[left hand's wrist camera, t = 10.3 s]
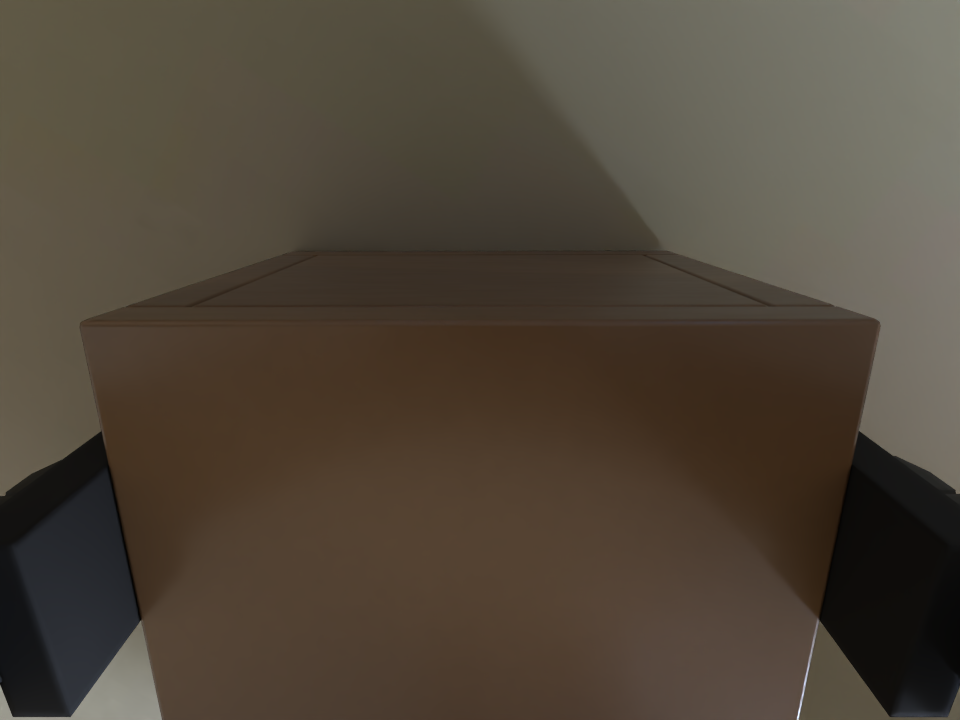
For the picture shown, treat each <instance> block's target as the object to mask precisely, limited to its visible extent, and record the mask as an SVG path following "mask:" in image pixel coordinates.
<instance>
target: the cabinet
mask: <svg viewBox="0 0 960 720" xmlns="http://www.w3.org/2000/svg"><path fill="white" fill-rule="evenodd" d="M80 331H81V336H82V340H83V345H84V350H85V355H86V359H87V364H88V369H89V374H90V378H91V383H92V388H93V393H94V397H95V402H96V407H97V412H98V416H99V421H100V426H101V431H102V435H103V440H104V445H105V450H106V455H107V459H108V464H109V469H110V474H111V478H112V483H113V488H114V493H115V497H116V502H117V507H118V512H119V516H120V521H121V526H122V531H123V535H124V540H125V545H126V550H127V555H128V559H129V564H130V569H131V574H132V578H133V583H134V588H135V593H136V597H137V602H138V607H139V612H140V616H141V621H142V626H143V631H144V635H145V640H146V645H147V650H148V654H149V659H150V664H151V669H152V674H153V678H154V683H155V688H156V693H157V697H158V702H159V707H160V712H161V716H162V720H799V716H800V711H801V707H802V702H803V697H804V692H805V687H806V683H807V678H808V673H809V668H810V663H811V658H812V654H813V649H814V644H815V639H816V634H817V630H818V625H819V620H820V615H821V610H822V605H823V601H824V596H825V591H826V586H827V581H828V577H829V572H830V567H831V562H832V557H833V553H834V548H835V543H836V538H837V533H838V528H839V524H840V519H841V514H842V509H843V504H844V500H845V495H846V490H847V485H848V480H849V475H850V471H851V466H852V461H853V456H854V451H855V447H856V442H857V437H858V432H859V427H860V422H861V418H862V413H863V408H864V403H865V398H866V394H867V389H868V384H869V379H870V374H871V369H872V365H873V360H874V355H875V350H876V345H877V341H878V336H879V331H880V322H879V321H878V320H876V319H874V318H871V317H868V316H865V315H862V314H858V313H855V312H852V311H849V310H846V309H843V308H840V307H835V306H834V305H831V304H828V303H825V302H822V301H819V300H816V299H813V298H810V297H807V296H804V295H801V294H798V293H795V292H792V291H789V290H786V289H782V288H779V287H776V286H773V285H770V284H767V283H764V282H761V281H758V280H755V279H752V278H749V277H746V276H743V275H740V274H737V273H733V272H730V271H727V270H724V269H721V268H718V267H715V266H712V265H709V264H706V263H703V262H700V261H697V260H694V259H691V258H688V257H684V256H681V255H678V254H675V253H672V252H669V251H292V252H289V253H286V254H283V255H280V256H277V257H274V258H271V259H268V260H265V261H262V262H259V263H256V264H253V265H250V266H247V267H244V268H241V269H238V270H235V271H232V272H229V273H226V274H223V275H220V276H217V277H214V278H211V279H207V280H204V281H201V282H198V283H195V284H192V285H189V286H186V287H183V288H180V289H177V290H174V291H171V292H168V293H165V294H162V295H159V296H156V297H153V298H150V299H147V300H144V301H141V302H138V303H135V304H132V305H129V306H127V307H123V308H120V309H117V310H114V311H111V312H107V313H104V314H101V315H98V316H95V317H92V318H89V319H86V320H84V321H82V322H81V323H80Z"/></svg>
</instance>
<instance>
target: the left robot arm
mask: <svg viewBox="0 0 960 720" xmlns="http://www.w3.org/2000/svg"><path fill="white" fill-rule="evenodd" d="M955 491H956V490H955V489H953V488H952V487H950V486H949V485H947V484H946V483H945V482H943V481H942V480H940V479H939V478H938V477H936V476H935V475H933V474H932V473H931V472H929V471H927V470H925V469H922V468H920V467H918V466H916V465H914V464H912V463H909V462H907V461H905V460H903V459H901V458H899V457H896V456H892V455H891V454H890V453H888V452H887V451H885V450H884V449H883V448H881V447H880V446H879V445H877V444H876V443H875V442H873V441H872V440H870V439H869V438H868V437H866V436H865V435H864V434H862V433H861V432H860V431H859V432H858V437H857V442H856V447H855V451H854V456H853V461H852V466H851V471H850V475H849V480H848V485H847V490H846V495H845V500H844V504H843V509H842V514H841V519H840V524H839V528H838V533H837V538H836V543H835V548H834V553H833V557H832V562H831V567H830V572H829V577H828V581H827V586H826V591H825V596H824V601H823V605H822V610H821V615H820V621H821V623H822V624H823V626H824V627H825V628H826V630H827V631H828V632H829V634H830V635H831V637H832V638H833V639H834V641H835V642H836V643H837V645H838V646H839V648H840V649H841V650H842V652H843V653H844V654H845V656H846V657H847V659H848V660H849V661H850V663H851V664H852V665H853V667H854V668H855V670H856V671H857V672H858V674H859V675H860V676H861V678H862V679H863V681H864V682H865V683H866V685H867V686H868V687H869V689H870V690H871V692H872V693H873V694H874V696H875V697H876V698H877V700H878V701H879V703H880V704H881V705H882V707H883V708H884V709H885V711H886V712H887V714H888V715H889V716H890V717H948V715H949V712H950V710H951V707H952V704H953V702H954V699H955V697H956V694H957V692H958V689H959V687H960V494H956V492H955ZM140 621H141V616H140V612H139V607H138V602H137V597H136V593H135V588H134V583H133V578H132V574H131V569H130V564H129V559H128V555H127V550H126V545H125V540H124V535H123V531H122V526H121V521H120V516H119V512H118V507H117V502H116V497H115V493H114V488H113V483H112V478H111V474H110V469H109V464H108V459H107V455H106V450H105V445H104V440H103V435H102V431H101V432H100V433H98V434H97V435H95V436H94V437H93V438H91V439H90V440H89V441H87V442H86V443H85V444H83V445H82V446H80V447H79V448H78V449H76V450H75V451H74V452H72V453H71V454H70V455H68V456H67V457H65V458H64V459H63V460H60V461H58V462H56V463H54V464H52V465H50V466H48V467H45V468H43V469H41V470H39V471H37V472H35V473H32V474H31V475H29V476H28V477H27V478H25V479H24V480H22V481H21V482H20V483H18V484H17V485H15V486H14V487H13V488H11V489H10V490H8V491H7V492H6V495H5V496H0V685H1V688H2V690H3V693H4V695H5V698H6V700H7V703H8V706H9V708H10V711H11V713H12V716H13V717H71V716H72V714H73V713H74V711H75V710H76V709H77V707H78V706H79V705H80V703H81V702H82V700H83V699H84V698H85V696H86V695H87V694H88V692H89V691H90V689H91V688H92V687H93V685H94V684H95V682H96V681H97V680H98V678H99V677H100V676H101V674H102V673H103V671H104V670H105V669H106V667H107V666H108V665H109V663H110V662H111V660H112V659H113V658H114V656H115V655H116V654H117V652H118V651H119V649H120V648H121V647H122V645H123V644H124V643H125V641H126V640H127V638H128V637H129V636H130V634H131V633H132V632H133V630H134V629H135V627H136V626H137V625H138V623H139V622H140Z"/></svg>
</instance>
